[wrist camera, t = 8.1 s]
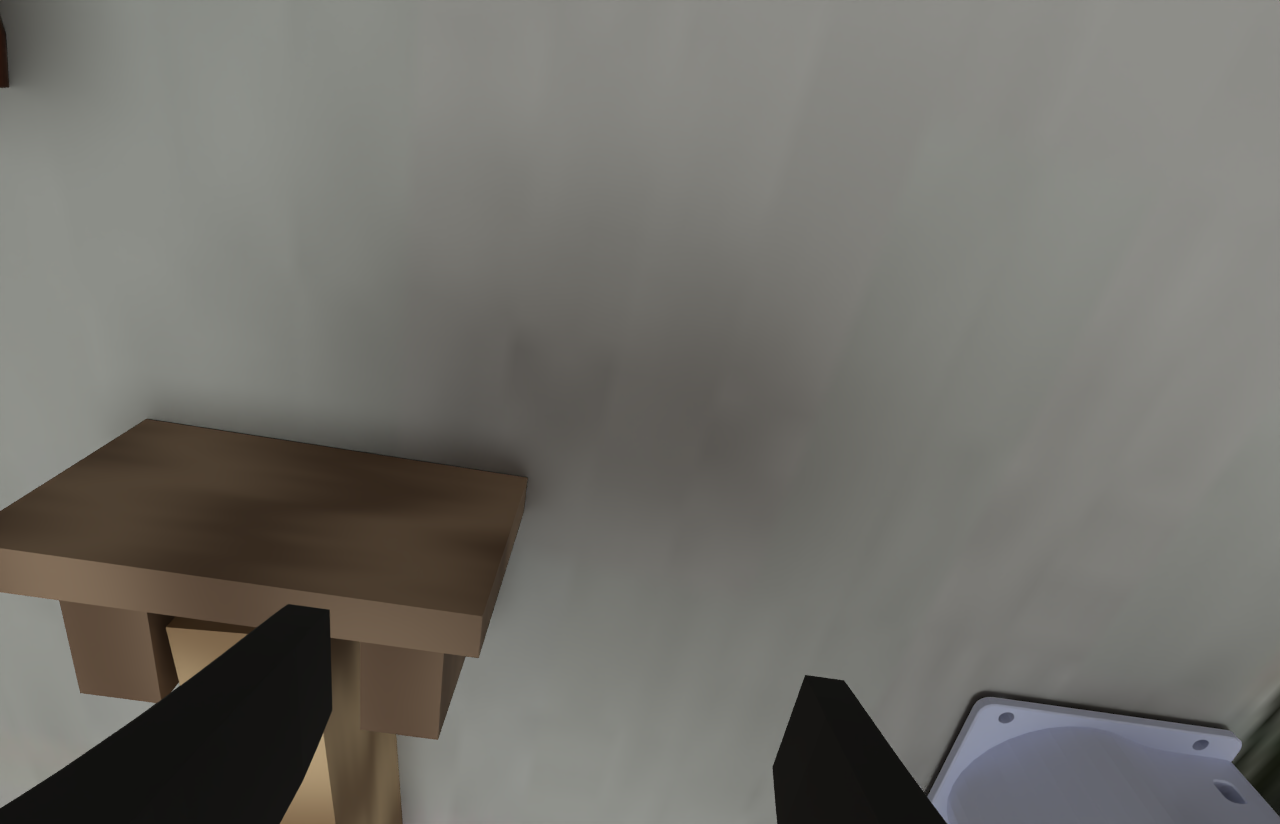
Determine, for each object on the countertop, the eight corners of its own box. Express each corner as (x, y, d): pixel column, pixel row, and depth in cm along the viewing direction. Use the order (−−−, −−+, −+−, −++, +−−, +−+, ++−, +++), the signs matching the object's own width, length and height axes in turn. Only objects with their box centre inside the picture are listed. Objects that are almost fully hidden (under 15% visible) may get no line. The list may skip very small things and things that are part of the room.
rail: (267, 500, 21) (161, 610, 16) (382, 510, 21) (308, 623, 17) (314, 814, 27) (247, 958, 22) (404, 820, 27) (354, 966, 23)
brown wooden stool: (527, 477, 20) (482, 616, 15) (511, 614, 22) (466, 779, 17) (146, 418, 20) (-48, 541, 14) (167, 565, 22) (4, 720, 16)
